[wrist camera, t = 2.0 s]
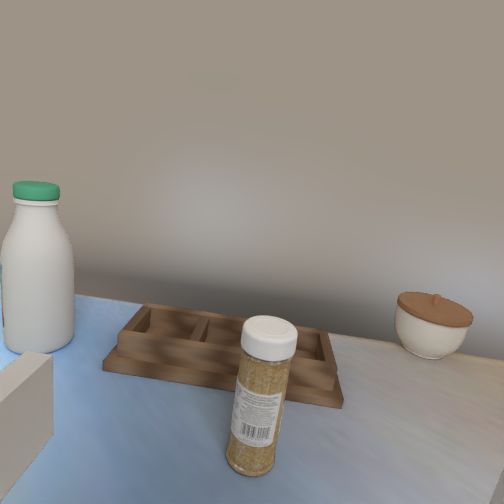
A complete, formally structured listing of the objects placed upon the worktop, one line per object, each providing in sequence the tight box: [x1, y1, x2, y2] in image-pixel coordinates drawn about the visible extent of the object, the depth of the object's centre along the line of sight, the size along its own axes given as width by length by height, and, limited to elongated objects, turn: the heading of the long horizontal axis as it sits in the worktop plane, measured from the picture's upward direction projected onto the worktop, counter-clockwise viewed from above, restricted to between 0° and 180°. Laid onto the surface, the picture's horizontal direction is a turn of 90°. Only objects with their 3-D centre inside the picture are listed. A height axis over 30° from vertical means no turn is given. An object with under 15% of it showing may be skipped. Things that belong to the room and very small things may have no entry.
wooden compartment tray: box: [103, 303, 344, 409], centre depth 47 cm, size 28×12×4 cm, turn 86°
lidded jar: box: [395, 292, 473, 360], centre depth 58 cm, size 11×11×9 cm
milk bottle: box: [0, 181, 74, 354], centre depth 44 cm, size 8×8×20 cm
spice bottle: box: [226, 316, 298, 476], centre depth 32 cm, size 5×5×13 cm
